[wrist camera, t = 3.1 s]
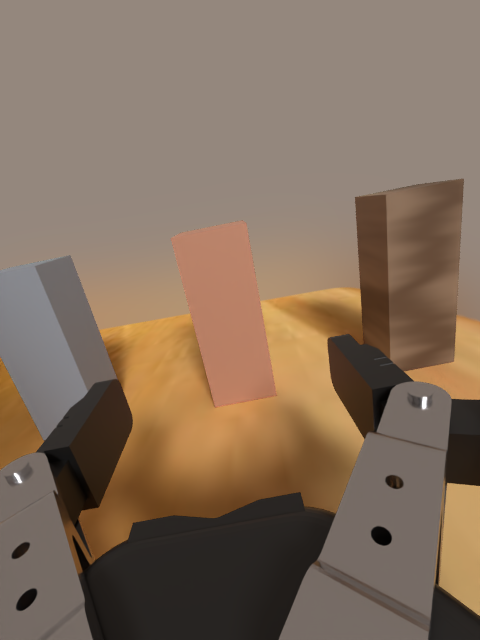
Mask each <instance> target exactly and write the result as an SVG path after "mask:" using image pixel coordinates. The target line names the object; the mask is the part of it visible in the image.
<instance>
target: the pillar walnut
mask: <svg viewBox="0 0 480 640" xmlns="http://www.w3.org/2000/svg"><path fill="white" fill-rule="evenodd" d="M463 185H464V179H456V180H448V181H441V182H433V183H425V184H418V185H412V186H408V187H403V188H398V189H393V190H388V191H383V192H378V193H373V194H368V195H363V196H359V197H355V204H356V221H357V238H358V254H359V271H360V289H361V306H362V323H363V340H364V344H368V345H370V346H373V347H375V348H378V349H379V350H380V351H381V352H383V353H384V354H385V355H386V356H387V358H389V359H390V360H391V361H392V362H393V364H396V365H397V366H398V367H399V368H400V369H401V370H402V371H407V370H413V369H418V368H423V367H428V366H433V365H439V364H444V363H449V362H454V352H455V333H456V315H457V296H458V278H459V259H460V239H461V222H462V203H463Z"/></svg>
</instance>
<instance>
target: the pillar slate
mask: <svg viewBox="0 0 480 640" xmlns="http://www.w3.org/2000/svg"><path fill="white" fill-rule="evenodd" d="M0 357H1V359H2V361H3V363H4V365H5V367H6V369H7V370H8V372H9V374H10V376H11V378H12V380H13V382H14V384H15V386H16V388H17V390H18V392H19V394H20V396H21V398H22V400H23V401H24V403H25V405H26V407H27V409H28V411H29V413H30V415H31V417H32V419H33V421H34V423H35V425H36V427H37V429H38V431H39V432H40V434H41V436H42V438H43V440H46V439H47V438H48V436H49V435H50V434H51V432H52V431H53V430H54V428H57V425H58V423H59V422H60V421H61V420H62V419H63V417H64V416H65V414H66V413H67V412H68V410H69V409H70V408H71V407H72V406H73V405H75V404H76V403H77V402H78V401H80V400H81V399H82V398H84V396H85V395H86V394H87V392H88V391H89V390H90V388H91V387H92V386H93V384H94V383H96V382H101V381H107V380H112V379H117V377H116V374H115V371H114V369H113V366H112V363H111V361H110V358H109V356H108V353H107V350H106V348H105V345H104V342H103V340H102V337H101V335H100V332H99V329H98V327H97V324H96V321H95V319H94V316H93V314H92V311H91V308H90V306H89V303H88V301H87V298H86V295H85V293H84V290H83V287H82V285H81V282H80V279H79V277H78V274H77V271H76V269H75V266H74V263H73V261H72V258H71V256H70V255H69V256H64V257H60V258H55V259H50V260H45V261H40V262H35V263H30V264H26V265H20V266H16V267H11V268H7V269H4V270H0ZM117 380H118V379H117Z"/></svg>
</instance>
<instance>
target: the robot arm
mask: <svg viewBox="0 0 480 640" xmlns="http://www.w3.org/2000/svg"><path fill="white" fill-rule="evenodd" d="M328 354H329V363H330V373H331V379H332V383H333V386H334V389H335V391H336V393H337V394H338V396H339V398H340V399H341V401H342V403H343V404H344V406H345V408H346V409H347V411H348V413H349V414H350V416H351V417H352V419H353V421H354V422H355V424H356V426H357V427H358V429H359V431H360V432H361V434H362V436H363V437H364V439H365V440H364V443H363V446H362V448H361V451H360V453H359V456H358V458H357V461H356V464H355V466H354V469H353V471H352V474H351V477H350V479H349V482H348V484H347V487H346V490H345V492H344V495H343V497H342V500H341V503H340V505H339V508H338V510H337V513H336V514H335V513H333V512H330V511H327V510H323V509H319V508H313V507H304V504H303V500H302V497H301V493H300V492H299V493H293V494H288V495H282V496H277V497H272V498H266V499H261V500H257V501H255V502H253V503H250V504H248V505H246V506H244V507H241V508H239V509H237V510H235V511H232V512H230V513H228V514H225V515H223V516H221V517H218V518H201V517H187V516H168V517H163V518H157V519H152V520H146V521H141V522H136V523H133V525H132V528H131V532H130V535H129V539H128V540H127V541H124V542H122V543H121V544H119V545H117V546H115V547H113V548H112V549H111V550H109V551H108V552H106V553H105V554H103V555H102V556H101V557H99V558H98V559H97V560H96V561H95V558H94V556H93V553H92V550H91V547H90V545H89V542H88V539H87V536H86V534H85V531H84V528H83V526H82V523H81V521H80V520H79V518H78V517H79V515H80V513H81V511H82V510H87V509H92V508H98V507H99V505H100V503H101V501H102V498H103V496H104V494H105V491H106V489H107V487H108V484H109V482H110V479H111V477H112V475H113V472H114V470H115V468H116V465H117V463H118V460H119V458H120V456H121V453H122V451H123V449H124V446H125V444H126V442H127V439H128V437H129V434H130V432H131V429H132V424H133V420H132V414H131V411H130V408H129V405H128V403H127V400H126V397H125V395H124V392H123V389H122V387H121V384H120V382H119V381H118V380H117V379H112V380H107V381H101V382H96V383H94V384H93V386H92V387H91V388H90V390H89V391H88V392H87V394H86V395H85V396H84V398H82V399H81V400H80V401H78V402H77V403H76V404H75V405H73V406H72V407H71V408H70V409H69V410H68V412H67V413H66V414H65V416H64V417H63V419H62V420H61V421H60V422H59V423H58V425H57V428H54V430H53V431H52V432H51V434H50V435H49V436H48V438H47V439H46V440H45V441H44V443H43V444H42V445H41V447H40V448H39V449H38V450H37V452H36V453H32V454H28V455H25V456H23V457H20V458H18V459H16V460H15V461H13V462H11V463H10V464H8V465H7V466H5V467H4V468H3V469H1V470H0V640H480V616H479V615H477V614H476V613H475V612H473V611H472V610H471V609H469V608H468V607H467V606H465V605H464V604H463V603H461V602H460V601H459V600H457V599H456V598H455V597H453V596H452V595H451V594H449V593H448V592H446V591H445V590H444V589H442V588H441V587H440V586H439V583H440V569H441V554H442V540H443V528H444V516H445V503H446V491H447V483H455V484H465V485H475V486H480V400H461V399H451V397H450V395H449V394H448V393H447V392H446V391H445V390H443V389H442V388H440V387H438V386H435V385H433V384H429V383H424V382H414V381H413V380H412V379H411V378H410V377H409V376H408V375H407V374H406V373H405V372H403V371H402V370H401V369H400V368H399V367H398V366H397V365H396V364H393V362H392V361H391V360H390V359H389V358H387V356H386V355H385V354H384V353H383V352H381V351H380V350H379V349H378V348H375V347H373V346H370V345H368V344H363V345H359V344H358V343H357V341H356V340H355V339H354V338H353V337H352V336H351V335H349V334H346V335H341V336H335V337H330V338H328Z"/></svg>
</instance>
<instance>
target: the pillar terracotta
mask: <svg viewBox="0 0 480 640" xmlns="http://www.w3.org/2000/svg"><path fill="white" fill-rule="evenodd" d="M171 241H172V244H173V248H174V252H175V256H176V260H177V264H178V267H179V271H180V275H181V279H182V283H183V287H184V290H185V294H186V298H187V302H188V306H189V310H190V313H191V317H192V321H193V325H194V329H195V332H196V336H197V340H198V344H199V348H200V352H201V355H202V359H203V363H204V367H205V371H206V374H207V378H208V382H209V386H210V390H211V394H212V397H213V401H214V405H215V407H220V406H225V405H230V404H235V403H241V402H246V401H251V400H256V399H261V398H267V397H272V396H277V394H276V388H275V383H274V377H273V371H272V366H271V360H270V354H269V349H268V343H267V337H266V332H265V326H264V320H263V315H262V309H261V303H260V298H259V292H258V287H257V281H256V275H255V269H254V264H253V258H252V252H251V247H250V241H249V236H248V230H247V224H246V222H244V221H243V220H241V221H236V222H231V223H227V224H221V225H217V226H212V227H207V228H202V229H197V230H192V231H187V232H182V233H180V234H178V235H176V236H174V237H172V238H171Z"/></svg>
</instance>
